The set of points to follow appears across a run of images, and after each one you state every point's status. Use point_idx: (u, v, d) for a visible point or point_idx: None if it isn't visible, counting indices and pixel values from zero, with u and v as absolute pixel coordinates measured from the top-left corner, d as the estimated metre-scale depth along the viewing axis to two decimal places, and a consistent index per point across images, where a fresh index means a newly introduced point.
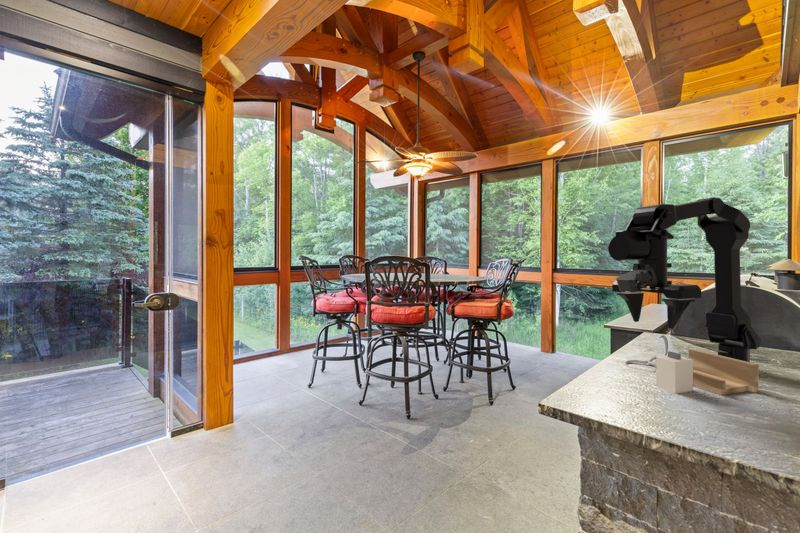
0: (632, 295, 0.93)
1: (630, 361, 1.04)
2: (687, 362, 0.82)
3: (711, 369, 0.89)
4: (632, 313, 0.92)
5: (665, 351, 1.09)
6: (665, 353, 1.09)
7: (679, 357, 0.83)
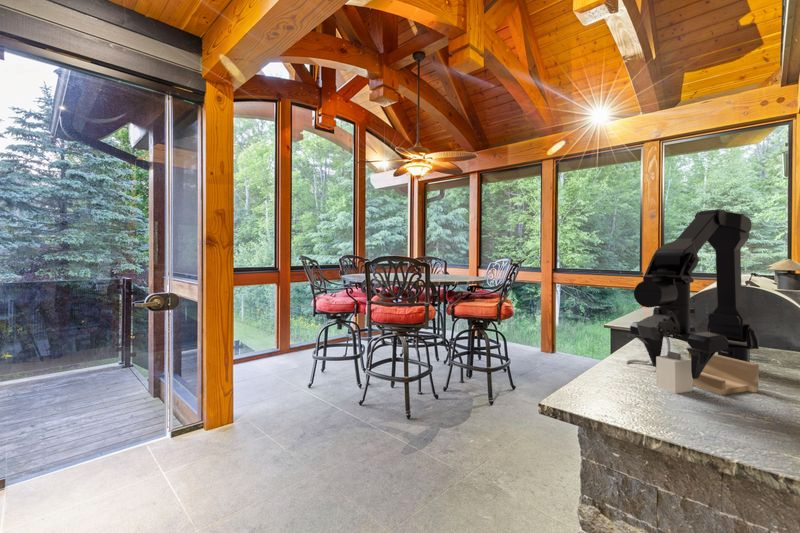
0: (651, 338, 0.89)
1: (631, 361, 1.04)
2: (687, 362, 0.82)
3: (711, 369, 0.89)
4: (651, 357, 0.89)
5: (667, 351, 1.09)
6: (667, 353, 1.09)
7: (679, 357, 0.83)
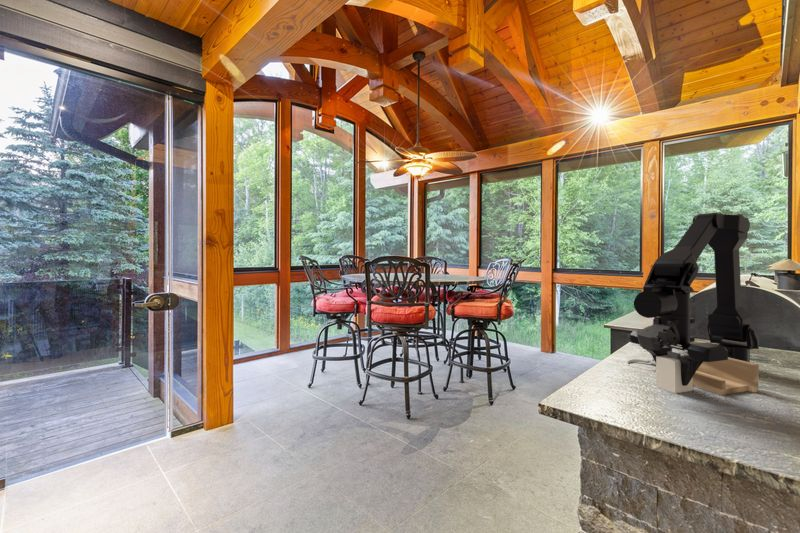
0: (660, 350, 0.87)
1: (633, 360, 1.04)
2: None
3: (711, 369, 0.89)
4: None
5: None
6: None
7: None
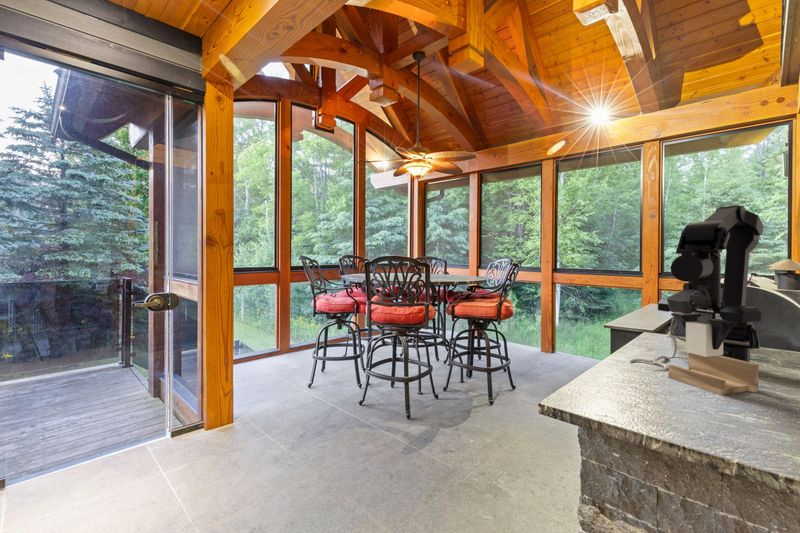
0: (689, 316, 0.87)
1: (635, 360, 1.05)
2: None
3: (711, 369, 0.89)
4: None
5: (674, 351, 1.09)
6: (673, 353, 1.09)
7: None
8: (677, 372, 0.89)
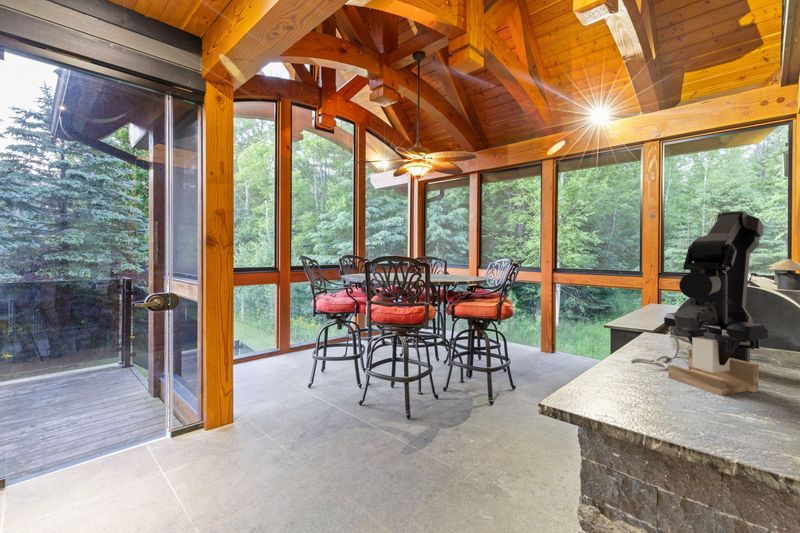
0: (695, 331, 0.88)
1: (636, 360, 1.05)
2: None
3: None
4: None
5: (676, 351, 1.09)
6: (676, 353, 1.08)
7: None
8: (677, 372, 0.89)
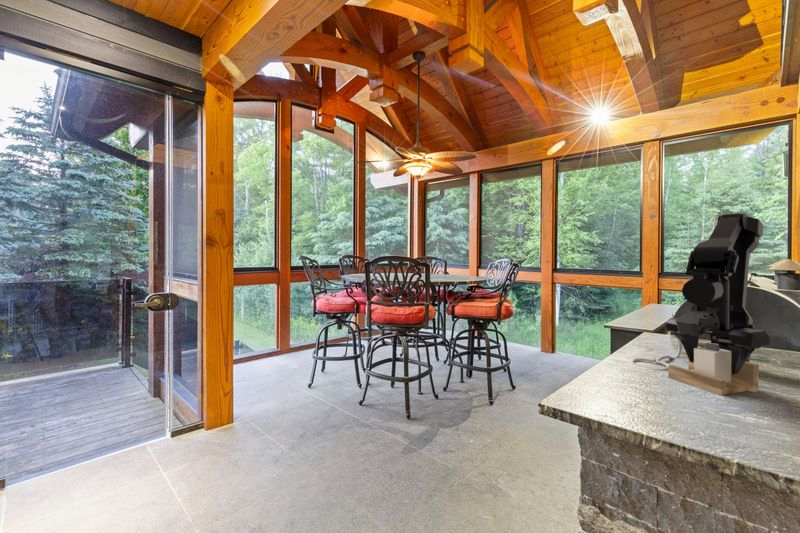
0: (688, 335, 0.90)
1: (638, 359, 1.05)
2: (726, 353, 0.84)
3: None
4: (688, 353, 0.90)
5: (679, 351, 1.09)
6: (678, 353, 1.08)
7: (718, 348, 0.84)
8: (677, 372, 0.89)
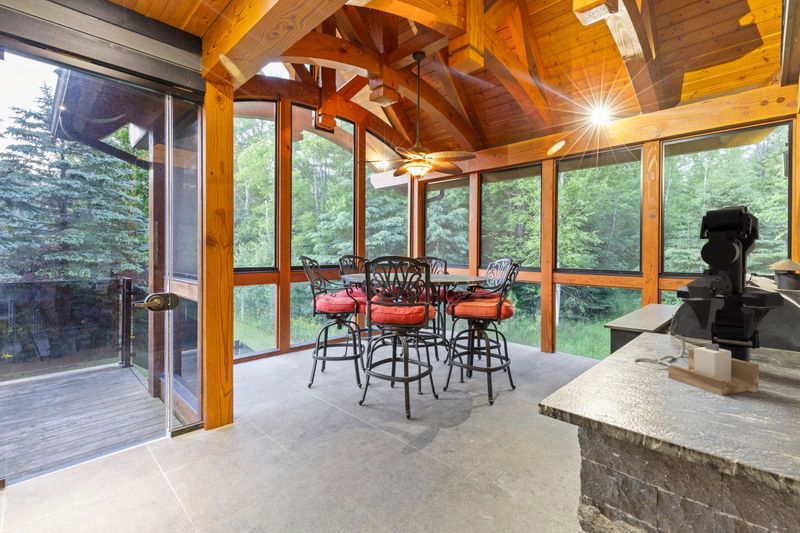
0: (700, 302, 0.89)
1: (640, 359, 1.05)
2: (726, 353, 0.84)
3: None
4: (700, 320, 0.89)
5: (682, 351, 1.09)
6: (682, 353, 1.08)
7: (718, 348, 0.84)
8: (677, 372, 0.89)
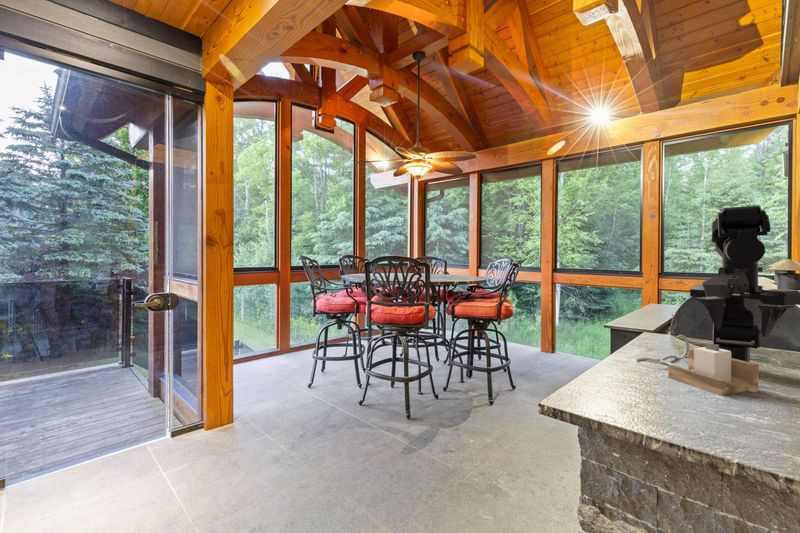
0: (714, 300, 0.88)
1: (643, 359, 1.06)
2: (726, 353, 0.84)
3: None
4: (714, 319, 0.88)
5: (685, 351, 1.08)
6: (685, 353, 1.08)
7: (718, 348, 0.84)
8: (677, 372, 0.89)
